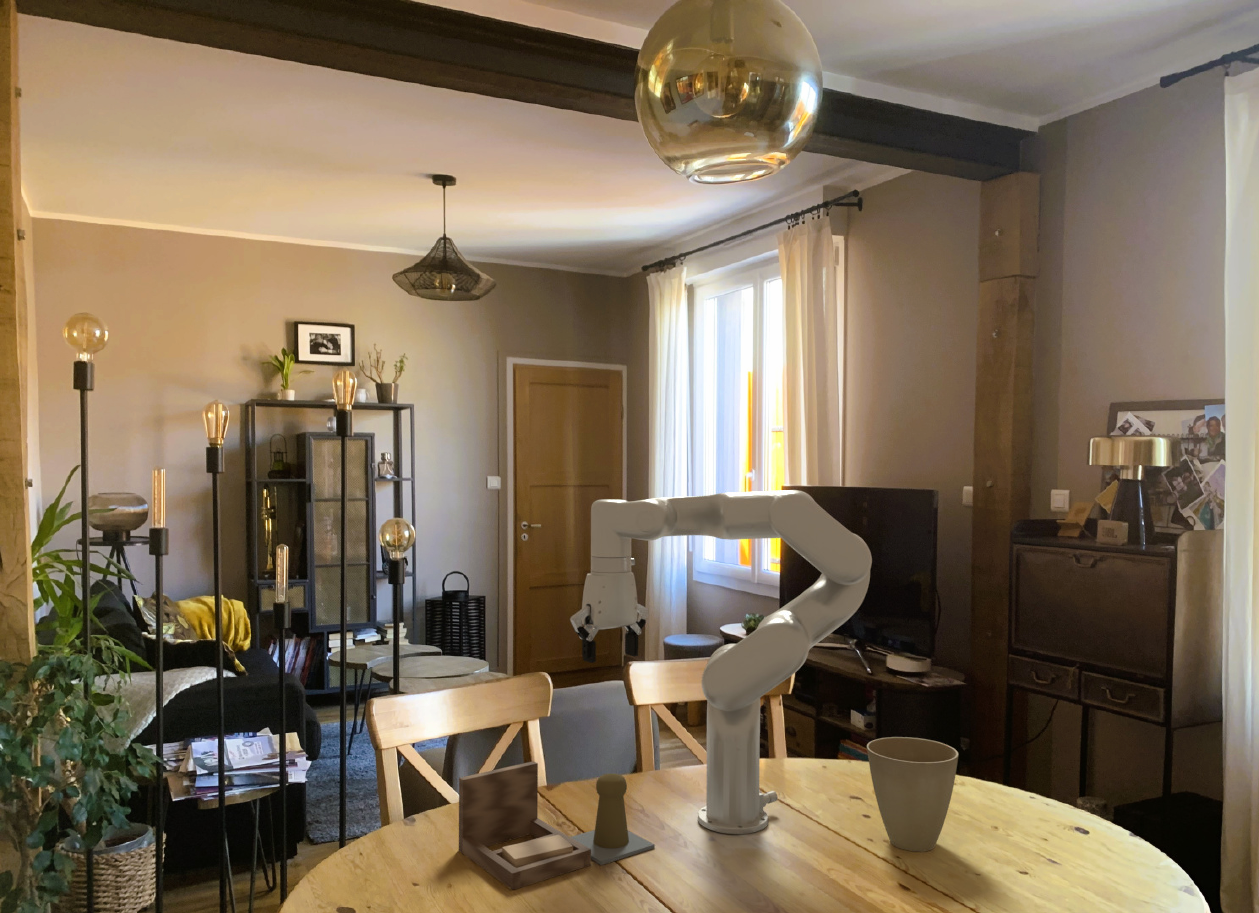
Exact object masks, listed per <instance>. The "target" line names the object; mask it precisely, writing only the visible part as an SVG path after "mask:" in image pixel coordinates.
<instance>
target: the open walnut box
mask: <svg viewBox="0 0 1259 913" xmlns="http://www.w3.org/2000/svg"><path fill="white" fill-rule="evenodd" d="M538 770H539V765H538V762H536V761H534V760H533V761H529V762H525V763H524V762H523V763H520V764H515V765H510V766H505V767H502V768H498V769H493V770H489V771H484V772H480V773H474V774H471V775H467V776H466V775H465V776H462V777H458V851H459V852H460V853H461V854H463V856H466V857H467V858H468V859H469V860H470V861H472V862H473V863H475V864H476V865H478V866H479V867H480V868H482V869H483V870H484V871H486V872H487V873H488V874H490V875H491V876H493V877H494V878H495V879H497V880H498V881H499V882H500V883H502V884H503V885H505V886H506V887H508V888H509V889H510V890H511V891H514V890H517V889H520V888H523V887H526V886H529V885H533V884H535V883H539V882H543V881H545V880H548V879H551V878H555V877H558V876H561V875H564V874H567V873H571V872H574V871H576V870H581V869H583V868H587V867H591V865H592V859H591V849H589V848H588V847H586V846H584V845H583V844H581V843H579V842H577V841H576V840H574V839H572V838H571V837H572V836H569V835H568V834H565V833H564V832H562V831H560V830H559V829H557V828H555V827H554V826H552V825H551V824H548V823H547V822H545V821H544V820H541V819H540V818H539V817H538V815H539V814H538V813H539V812H538V811H539V810H538V807H539V806H538V798H539V797H538V796H539V795H538V793H539V791H538V790H539V788H538V787H539V785H538V784H539V781H538V780H539V779H538V778H539V776H538V775H539V774H538V773H539V771H538ZM529 835H531V836H532V837H534V839H529V840H527V841H525V842H528V841H532V840H537V839H542V838H546V837H551V836H555V835H560V836H561V837H562V838H564V839H565V840H566V841H567V842H569V843H570V844H571V845H572V846H573V851H572V852H568V853H565V854H562V855H558V856H555V857H552V858H548V859H545V860H542V861H538V862H535V863H532V864H529V865H525V866H522V867H519V868H516V867H514V866H513V865H511V864H510V863H508V862H507V861H505V860H504V859H503V858H502V847H501V848H499V849H495V850H491V849H490V848H488V847H489V846H493V845H497V844H501V843H505V842H507V841H511V840H516V839H519V838H522V837H526V836H529ZM523 842H524V841H522V842H521V843H523Z"/></svg>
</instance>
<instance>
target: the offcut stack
mask: <svg viewBox="0 0 1259 913" xmlns="http://www.w3.org/2000/svg"><path fill="white" fill-rule="evenodd" d="M531 840H532V841H529V840H527V841H528V842H526V841H522V842H523V843H522V842H519V843H514V844H510V845H505V846H502V847H501V848H502V858H503V859H504V860H505V861H507V862H508V863H510V864H511V865H513V866H514V867H516V868H519V867H522V866H525V865H529V864H532V863H535V862H538V861H542V860H545V859H548V858H552V857H555V856H558V855H562V854H565V853H568V852H572V851H573V846H572V845H571V844H570V843H569V842H567V841H566V840H565V839H564V838H562V837H561V836H560V835H555V836H551V837H546V838H542V839H537V840H533V839H531Z"/></svg>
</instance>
